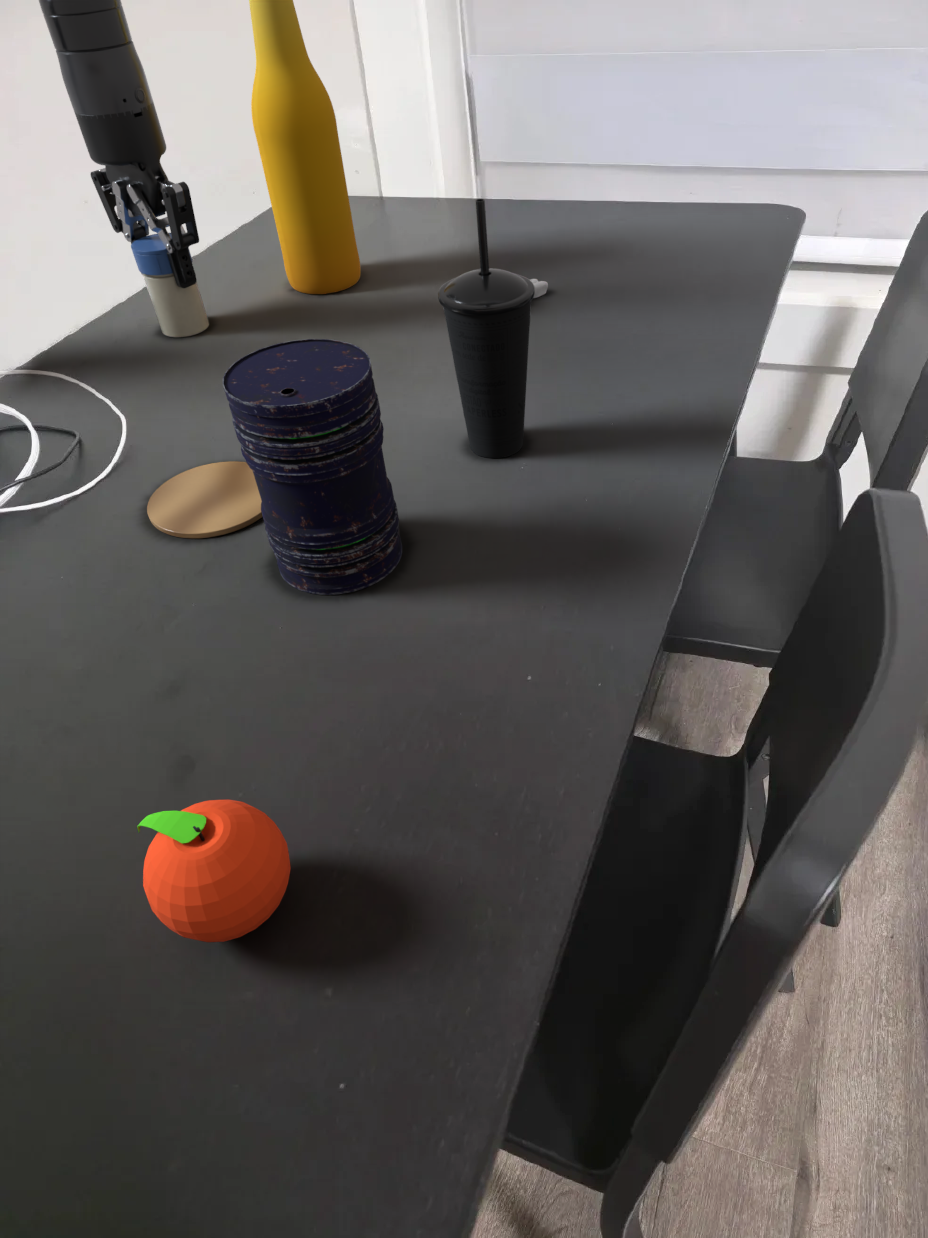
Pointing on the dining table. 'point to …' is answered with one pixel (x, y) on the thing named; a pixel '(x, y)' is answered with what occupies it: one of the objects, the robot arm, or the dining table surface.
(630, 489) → the dining table surface
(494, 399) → the drinking cup
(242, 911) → the clementine
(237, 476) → the coaster
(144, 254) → the jar lid
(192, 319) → the jar
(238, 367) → the navy ridged cylinder
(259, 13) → the beer bottle
